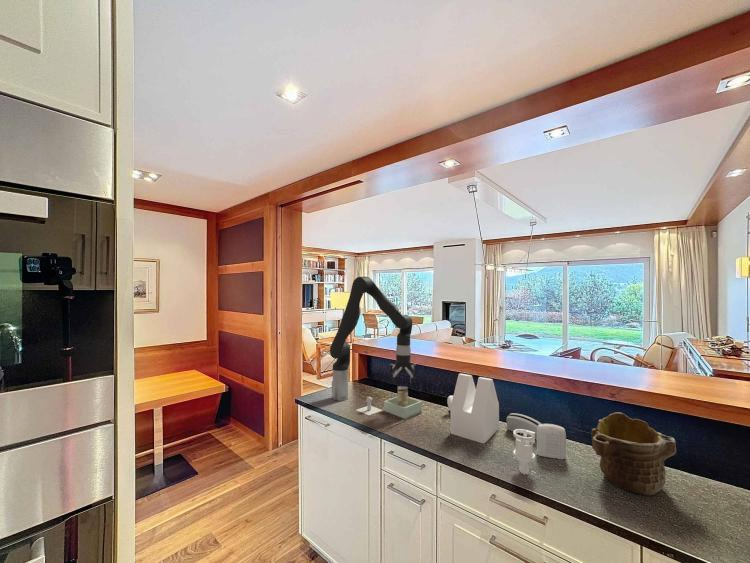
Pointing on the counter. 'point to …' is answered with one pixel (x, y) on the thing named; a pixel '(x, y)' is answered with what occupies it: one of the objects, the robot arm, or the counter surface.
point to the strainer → (524, 449)
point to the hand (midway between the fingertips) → (402, 384)
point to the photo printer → (551, 441)
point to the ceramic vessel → (632, 453)
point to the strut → (402, 396)
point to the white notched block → (474, 409)
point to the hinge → (522, 423)
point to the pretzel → (449, 401)
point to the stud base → (373, 410)
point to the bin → (403, 408)
